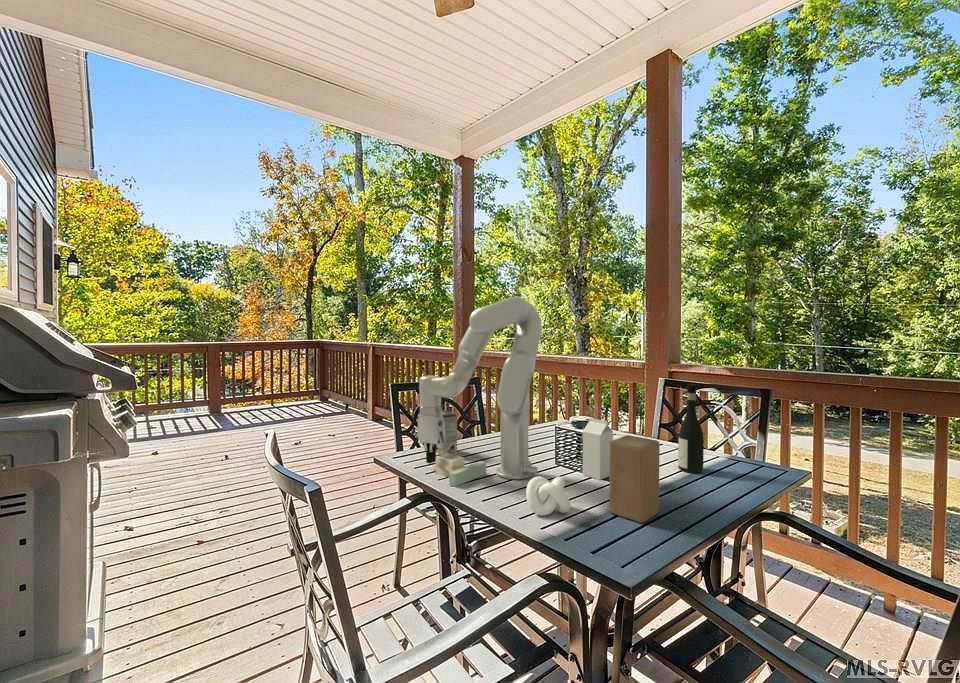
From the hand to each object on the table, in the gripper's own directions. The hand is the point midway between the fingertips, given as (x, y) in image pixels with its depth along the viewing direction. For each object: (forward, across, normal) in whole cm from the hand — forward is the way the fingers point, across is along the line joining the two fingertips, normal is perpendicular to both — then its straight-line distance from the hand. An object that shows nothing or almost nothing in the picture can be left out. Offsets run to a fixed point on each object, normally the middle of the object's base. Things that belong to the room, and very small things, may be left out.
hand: (431, 462), depth 163 cm
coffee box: (+3, +10, -18) cm, 21 cm away
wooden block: (+3, -70, -7) cm, 71 cm away
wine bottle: (+3, -72, -55) cm, 91 cm away
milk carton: (+3, -49, -30) cm, 58 cm away
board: (+3, -17, 0) cm, 18 cm away
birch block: (+3, -9, 0) cm, 10 cm away
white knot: (+3, -51, +5) cm, 52 cm away
